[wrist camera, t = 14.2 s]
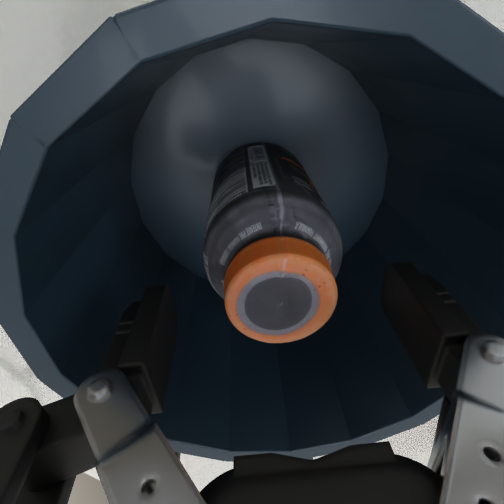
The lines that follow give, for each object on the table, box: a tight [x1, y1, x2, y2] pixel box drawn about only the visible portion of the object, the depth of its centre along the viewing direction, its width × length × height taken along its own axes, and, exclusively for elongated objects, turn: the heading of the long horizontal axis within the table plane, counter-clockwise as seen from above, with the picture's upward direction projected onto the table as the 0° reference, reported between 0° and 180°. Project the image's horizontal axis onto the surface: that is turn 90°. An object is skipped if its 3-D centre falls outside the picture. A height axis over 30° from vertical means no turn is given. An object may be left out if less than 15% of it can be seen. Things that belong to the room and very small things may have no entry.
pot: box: [0, 0, 504, 461], centre depth 16 cm, size 18×23×12 cm
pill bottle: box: [203, 142, 343, 343], centre depth 16 cm, size 6×6×11 cm
